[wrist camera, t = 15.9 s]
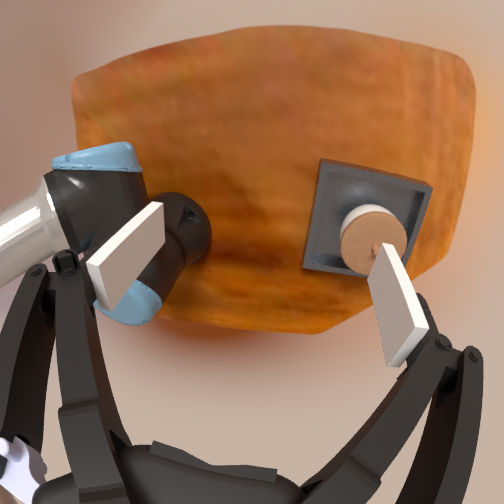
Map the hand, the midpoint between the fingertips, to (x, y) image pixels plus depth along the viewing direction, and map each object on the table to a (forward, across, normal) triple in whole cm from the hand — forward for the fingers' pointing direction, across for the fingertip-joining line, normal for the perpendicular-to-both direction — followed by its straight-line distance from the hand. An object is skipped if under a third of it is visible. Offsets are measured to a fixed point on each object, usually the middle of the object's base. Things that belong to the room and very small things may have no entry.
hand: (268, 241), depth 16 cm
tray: (+30, -15, +10) cm, 35 cm away
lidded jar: (+29, -15, +10) cm, 34 cm away
